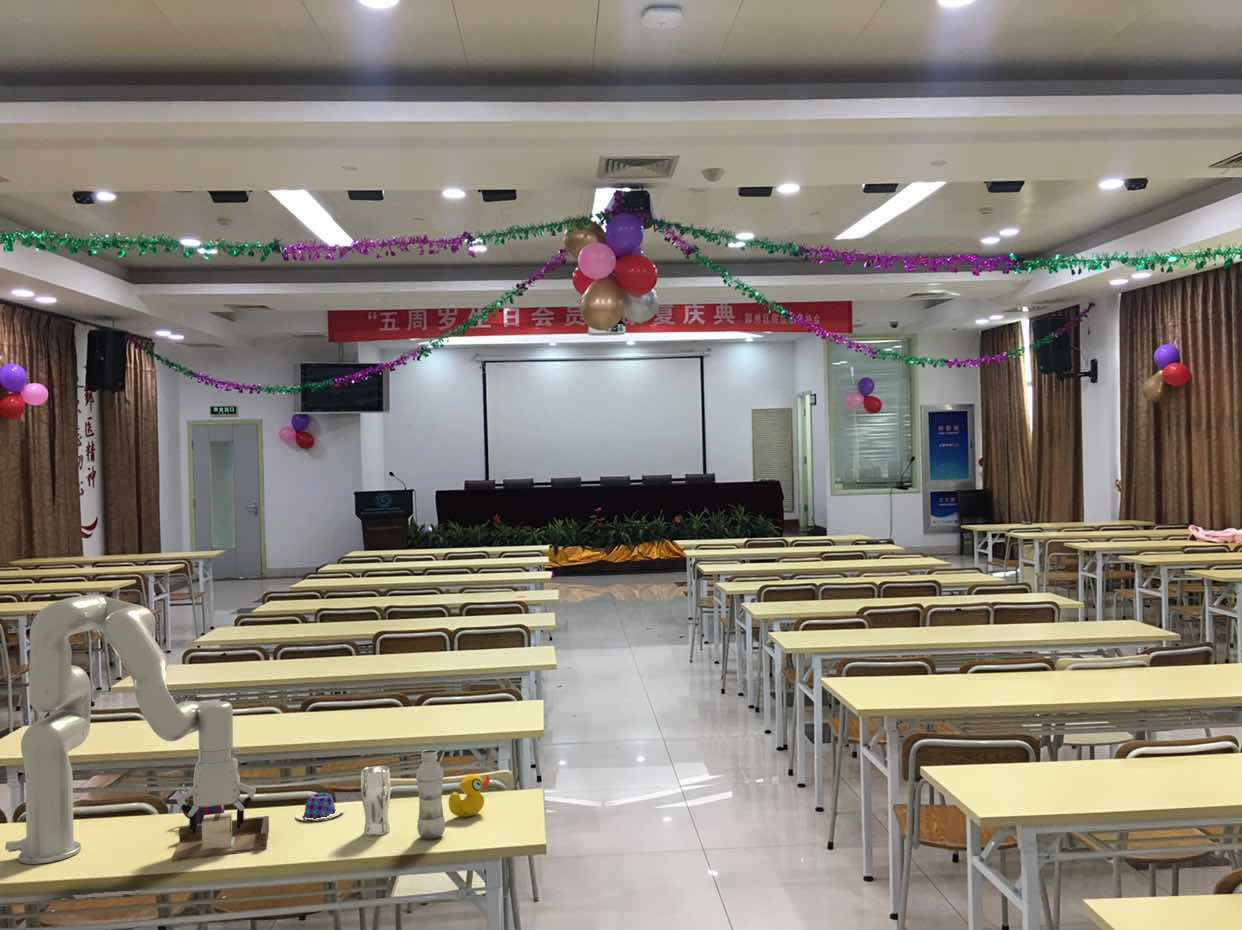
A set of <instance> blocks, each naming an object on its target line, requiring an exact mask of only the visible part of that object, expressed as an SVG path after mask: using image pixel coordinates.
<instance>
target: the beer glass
mask: <svg viewBox="0 0 1242 930" xmlns="http://www.w3.org/2000/svg"><path fill="white" fill-rule="evenodd" d="M391 783H392V782H391V774H390V767H388V766H385V765H375V766H369V767H365V768H363V769H361V776H360V794H361V796H360V797H361V801H362V807H363V811H364V821H365V822H364V828H363V835H365V836H367V837H380V836H384V834H385V835H387V834H388V833H390V830H391V828H390V824H389V808H390V807H389V806H390V800H391V799H390V797H391V790H392V789H391V785H392V784H391ZM386 833H387V834H386Z"/></svg>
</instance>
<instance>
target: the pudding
mask: <svg viewBox="0 0 1242 930" xmlns="http://www.w3.org/2000/svg"><path fill="white" fill-rule="evenodd" d="M335 807H336V806H335V803H334V799H333V796H332V794H331V793H328V792H318V793H314V794H311V795H310V796H309V797H307V799H306V802H305V808H304V810H305V812H304V816H305V817H306V818H313V819H316V818H321V817H327V816H329V815H330V814H334V813H335V811H336V809H335ZM297 814H298V813H296V815H295V819H297V820H300V819H298V818H297ZM330 818H331V817H330ZM330 818H329V819H328V820H330ZM324 820H325V821H326V820H327V819H324ZM324 820H323V821H324ZM300 821H301V820H300ZM302 821H304V822H305V821H306V822H308V821H307V820H302ZM317 821H318V822H320V821H319V820H315V821H314V822H317Z"/></svg>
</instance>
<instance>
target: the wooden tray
mask: <svg viewBox="0 0 1242 930" xmlns="http://www.w3.org/2000/svg"><path fill="white" fill-rule="evenodd" d="M269 816H270V815H265V816H256V817H247V818H244V823H241V827H240V828H237V819H232V840H231V844H230V846H224V847H216V848H208V849H202V824H197V832H196V833H195V834H193V829H190V824H188V825H187V824H186V825H181V826H179V832H178V833H179V838H178V839H179V841H178V843H177V846H176V849H175V851H174V853H173V856H172V858H171V859H172V862H176V860H178V861H183V860H182V859H185V860H193V859H200V858H206V857H214V856H215V857H217V856H223V855H222V854H225V855H229V853H232V854H239V853H238V852H240V853H246V852H247V851H248V852H254V851H255V852H256V851H262V849H264V850H267V849H268V848H267V847H268V842H267V841H268V840H269V834H268V833H270V821H269V820H270V817H269ZM216 855H217V856H216ZM185 860H184V861H185Z"/></svg>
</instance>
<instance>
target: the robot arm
mask: <svg viewBox="0 0 1242 930" xmlns="http://www.w3.org/2000/svg"><path fill="white" fill-rule="evenodd" d="M155 628H156V618H155V616H154V613H153V612H152V611H151V610H149V608H146V607H145V606H143V605H139V604H135V603H132V602H128V601H124V600H120V599H116V598H112V597H108V596H104V595H100V594H85V595H81V596H80V595H79V596H73V597H66V598H63V599H61V600H58V601H55V602H53V603H50V604H49V605H47V606H45V607H44V608H42V609H41V610H40V611H39V612H38V613H37V614H36V616H35V617H34V618H33V620H32V622H31V625H30V631H29V650H30V651H29V671H28V673H29V675H28V677H29V678H28V701H29V703H30V706H31V707H32V708H33V709H34V710H35V711H36V712H40V713H49V715H48V716H46V717H44V718H41V719H39V720H37V721H35V722H33V723H32V724H31V725H30V726H29V727H28V728H27V729H26V730H25V731H24V733H23V735H22V738H21V742H20V750H21V755H22V760H23V764H24V765H23V766H24V775H25V777H24V778H25V828H26V829H25V833H26V834H25V835H26V836H25V838H21V840H9V841H6V842H5V851H8V853H13V852H17V851H19V852H20V853H19V854H18V861H19V863H22V864H27V865H38V864H39V865H40V864H46V863H53V862H58V861H61V860H64V859H67V858H70V857H73V856H75V855H76V854H79V853H80V851H81V850H82V844H81V843H80V842H78V841H75V840H74V781H73V780H74V779H73V776H74V775H73V769H72V764H71V761H70V758H69V752H70V751H72V750H74V749H76V748H78V747H80V746H81V745H83V743H84V742H85V741H86V740H87V738H88V735H89V733H90V729H91V708H92V707H91V703H92V684H91V680H90V678H89V676H88V674H87V673H86V671H85V670H84V669H82V668H81V667H79V666H78V665H74V664H73V665H72V657H73V655H72V654H73V653H72V646H71V644H70V640H69V637H70V636H72V635H75V634H79V633H84V632H87V631H98V632H101V633H103V635H104V637H105V639H106V640H107V643H109V645H110V646H111V647H110V648H112V649H113V652H114V653H115V654H116V656H117V657H118V659H119V661H121V663H122V665H123V666H124V668H125V670H126V671H127V673H128V674H129V675H130V678H131V680H132V683H133V690H134V694H135V698H136V701H137V705H138V708H139V711H140V712H141V715H142V716H143V717H144V719H145V720H146V723H147V724H148V725H149V727H150V728H151V729H152V731H153V732H154V733H155V735H157V736H158V737H159V738H160V739H162V740H163V741H166V742H176V741H180V740H181V739H183V738H184V737H186V736H188V735H190V734H192V733H195V732H198V761H197V762H195V766H194V774H193V781H192V782H193V784H192V786H193V787H192V788H190V789H188V790H187V791H185V792H184V793H181V794H180V795H179V796H177V798H176V802H177V803H178V806H179V807H180V810H181V811H182V812H183V811H184V812H185V813H186V814H188V816H189V817H190V819H189V825H190V829H193V834H195V833H196V832H197V814H196V811H197V810H198V809H199V807H210V806H219V805H224V806H226V805H233V806H234V807H236V808H237V809H236V820H237V828H240V827H241V823H244V819H245V815H244V814H245V811H244V810H245V809H246V808H247V807H248V806H249V804H250V803H251V802H252V800H253V799H254V796H255V794H256V792H257V791H256V790H257V789H256V788H255V787H253V786H250V785H248V784H245V783H242V782H241V781H240V780H241V777H240V767H239V763H238V759H237V758H236V757H235V756H237V755H240V753H241V750H240V748H236V747H234V721H233V720H234V719H233V718H234V716H233V715H234V712H233V706H232V703H230V702H229V701H222V700H220V701H210V702H206V701H204V702H203V701H195V700H184V701H181V702H179V703H176V701H175V700H174V698H173V696H172V695H171V693H170V691H169V689H168V686H167V681H166V673H167V668H168V657H167V655H166V654H165V652H164V651H163V650H162V648H161V647H160V646H159V644H158V642H157V641H156V640H155V639H156V638H154V636H153V633H154V631H155ZM241 791H242V792H245V793H247V794H248V795H246V797H245V799H243V800H242V799H241V798H240V796H241ZM190 797H192V799H193V802H192V806H190V805H189V804H188V803H187V802H185V801H186V800H187V799H189V798H190Z"/></svg>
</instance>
